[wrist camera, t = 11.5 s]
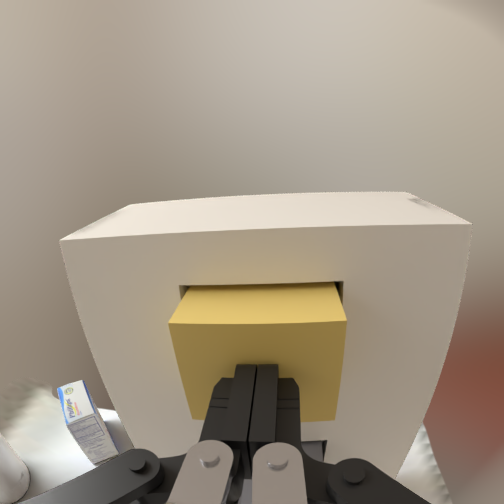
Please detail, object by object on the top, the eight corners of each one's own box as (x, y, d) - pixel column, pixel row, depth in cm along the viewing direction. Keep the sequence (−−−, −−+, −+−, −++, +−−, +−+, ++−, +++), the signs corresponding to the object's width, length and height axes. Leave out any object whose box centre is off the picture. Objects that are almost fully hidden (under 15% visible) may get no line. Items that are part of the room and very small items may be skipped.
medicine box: (120, 455, 33) (97, 413, 31) (92, 465, 31) (65, 424, 28) (103, 420, 39) (83, 378, 37) (78, 429, 37) (55, 387, 34)
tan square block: (192, 419, 12) (167, 323, 11) (217, 337, 18) (207, 257, 17) (334, 420, 12) (347, 320, 10) (321, 335, 18) (323, 253, 16)
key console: (188, 532, 23) (58, 240, 13) (201, 479, 31) (130, 204, 20) (360, 534, 21) (472, 224, 11) (354, 478, 29) (406, 192, 18)
